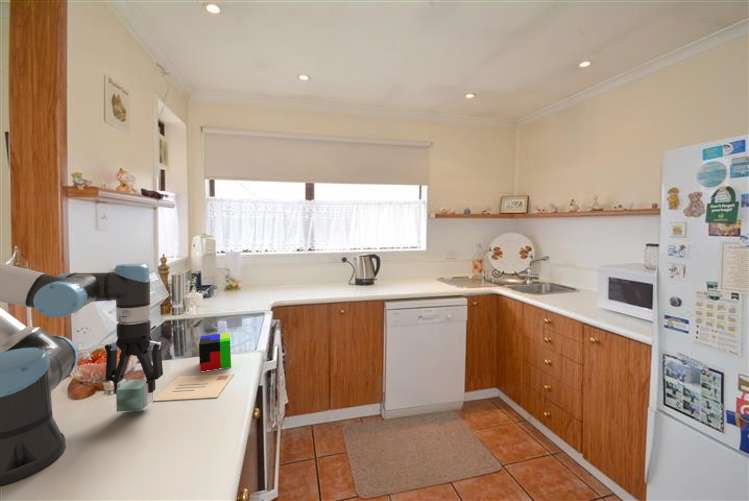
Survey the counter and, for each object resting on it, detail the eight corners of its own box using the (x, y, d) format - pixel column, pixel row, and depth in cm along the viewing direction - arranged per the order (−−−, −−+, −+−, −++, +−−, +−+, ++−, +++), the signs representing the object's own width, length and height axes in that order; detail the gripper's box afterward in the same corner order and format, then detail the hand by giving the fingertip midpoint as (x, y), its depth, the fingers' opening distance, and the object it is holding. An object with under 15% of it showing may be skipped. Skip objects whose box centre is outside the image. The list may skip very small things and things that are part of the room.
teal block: (116, 411, 90) (116, 389, 89) (130, 400, 95) (130, 379, 95) (140, 410, 90) (140, 388, 90) (153, 399, 96) (152, 379, 96)
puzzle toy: (201, 362, 127) (200, 336, 127) (230, 357, 131) (229, 332, 131) (200, 372, 118) (198, 344, 117) (231, 367, 122) (230, 340, 121)
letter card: (152, 401, 98) (152, 400, 98) (178, 377, 114) (178, 376, 114) (217, 397, 100) (217, 396, 100) (233, 374, 116) (233, 373, 116)
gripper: (85, 325, 87) (87, 412, 88) (163, 324, 89) (165, 410, 90) (105, 317, 94) (107, 398, 95) (177, 317, 96) (178, 396, 97)
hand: (135, 403), depth 93 cm, fingers closed on teal block, 6 cm apart
